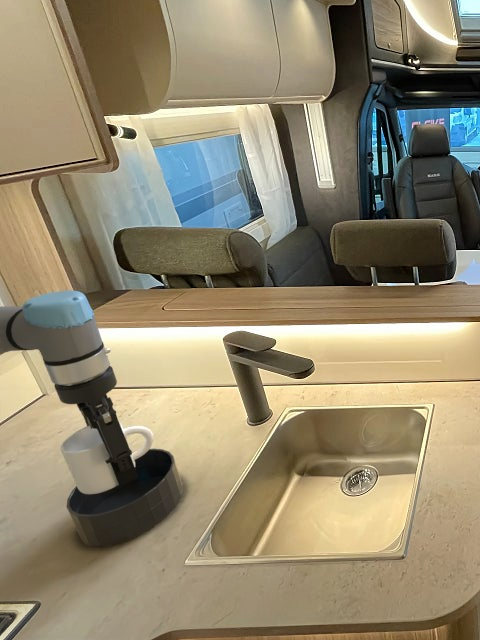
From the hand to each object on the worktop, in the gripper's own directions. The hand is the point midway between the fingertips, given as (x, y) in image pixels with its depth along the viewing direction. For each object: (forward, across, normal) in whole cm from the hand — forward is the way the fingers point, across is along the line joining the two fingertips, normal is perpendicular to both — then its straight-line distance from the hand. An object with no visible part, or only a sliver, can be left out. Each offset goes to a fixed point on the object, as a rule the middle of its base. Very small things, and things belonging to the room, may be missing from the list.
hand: (120, 470), depth 82 cm
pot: (+10, 0, 0) cm, 11 cm away
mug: (0, 0, 0) cm, 1 cm away
